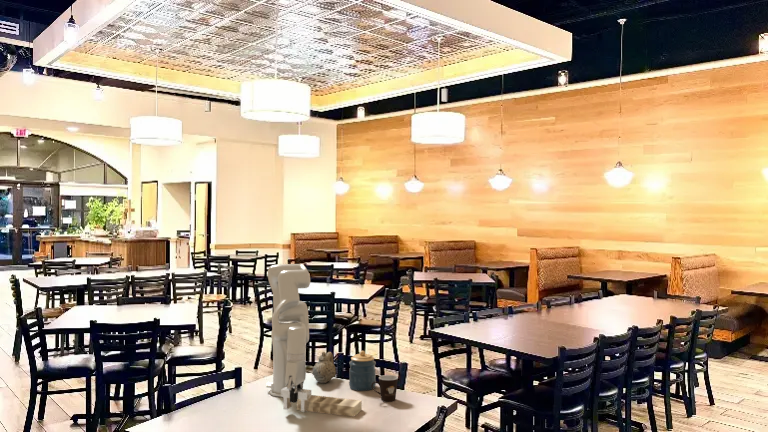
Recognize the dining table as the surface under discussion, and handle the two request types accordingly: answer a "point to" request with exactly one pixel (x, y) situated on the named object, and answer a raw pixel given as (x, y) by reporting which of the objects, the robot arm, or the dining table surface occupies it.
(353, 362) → the canister
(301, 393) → the grey arched block
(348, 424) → the dining table surface
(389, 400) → the coffee mug
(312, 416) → the dining table surface
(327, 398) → the rail
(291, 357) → the robot arm
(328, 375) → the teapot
